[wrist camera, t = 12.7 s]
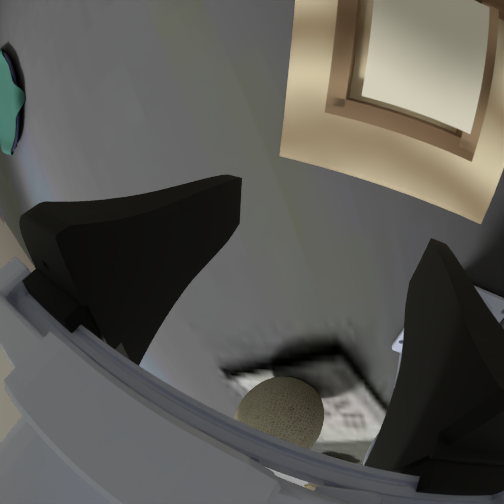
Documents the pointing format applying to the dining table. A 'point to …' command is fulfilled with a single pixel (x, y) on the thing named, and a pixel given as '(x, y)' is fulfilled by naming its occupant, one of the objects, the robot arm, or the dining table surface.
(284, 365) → the dining table surface
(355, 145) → the board
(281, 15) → the dining table surface
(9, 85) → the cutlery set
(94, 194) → the dining table surface
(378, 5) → the cabinet block
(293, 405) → the fruit
